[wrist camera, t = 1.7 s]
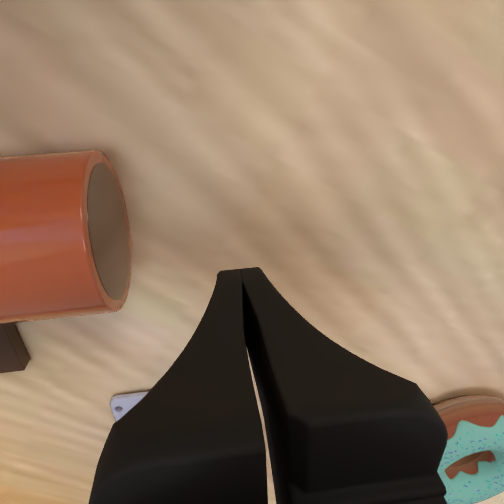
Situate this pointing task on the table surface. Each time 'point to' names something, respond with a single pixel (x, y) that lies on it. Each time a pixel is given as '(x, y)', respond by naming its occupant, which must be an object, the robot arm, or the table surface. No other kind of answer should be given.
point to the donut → (472, 448)
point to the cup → (62, 237)
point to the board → (12, 349)
